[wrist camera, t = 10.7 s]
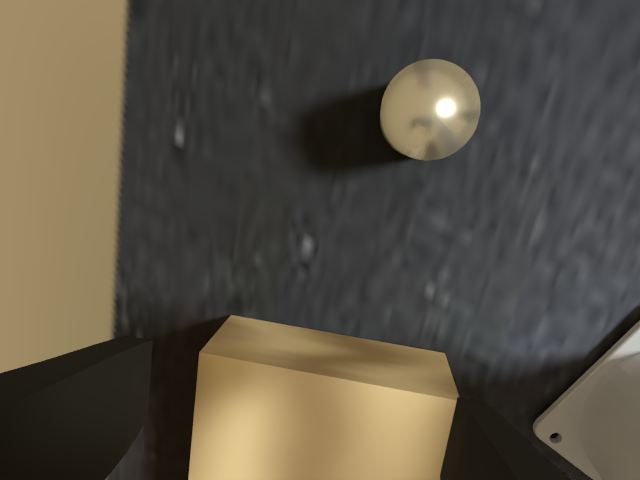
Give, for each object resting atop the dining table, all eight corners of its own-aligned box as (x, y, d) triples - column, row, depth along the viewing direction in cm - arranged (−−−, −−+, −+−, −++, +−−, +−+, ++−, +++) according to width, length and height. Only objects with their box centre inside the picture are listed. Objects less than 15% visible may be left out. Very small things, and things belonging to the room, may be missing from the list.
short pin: (475, 108, 19) (501, 100, 15) (424, 172, 19) (436, 179, 15) (413, 60, 19) (423, 37, 15) (364, 126, 19) (360, 121, 15)
